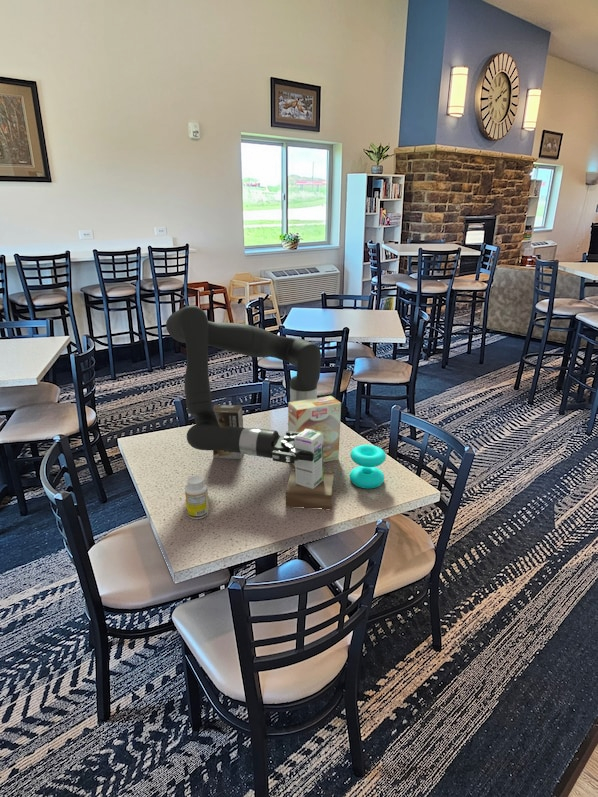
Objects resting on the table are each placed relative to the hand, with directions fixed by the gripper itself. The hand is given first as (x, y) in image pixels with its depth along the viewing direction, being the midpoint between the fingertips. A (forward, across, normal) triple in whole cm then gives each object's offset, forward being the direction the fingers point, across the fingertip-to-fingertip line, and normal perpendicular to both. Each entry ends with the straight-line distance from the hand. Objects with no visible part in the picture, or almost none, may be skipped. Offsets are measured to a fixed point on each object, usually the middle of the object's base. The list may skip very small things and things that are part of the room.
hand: (317, 449), depth 131 cm
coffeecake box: (-6, +21, +15) cm, 26 cm away
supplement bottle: (-28, -16, +15) cm, 35 cm away
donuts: (+12, +12, +15) cm, 23 cm away
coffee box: (-33, +17, +15) cm, 40 cm away
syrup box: (-2, 0, +10) cm, 10 cm away
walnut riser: (-2, 0, +15) cm, 15 cm away
